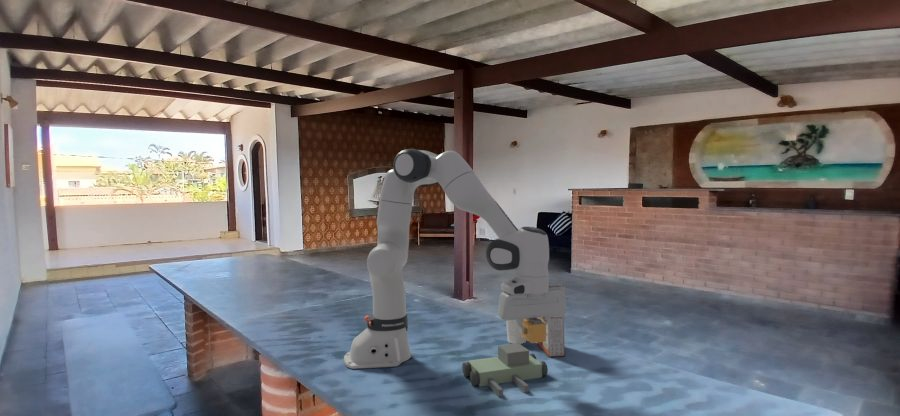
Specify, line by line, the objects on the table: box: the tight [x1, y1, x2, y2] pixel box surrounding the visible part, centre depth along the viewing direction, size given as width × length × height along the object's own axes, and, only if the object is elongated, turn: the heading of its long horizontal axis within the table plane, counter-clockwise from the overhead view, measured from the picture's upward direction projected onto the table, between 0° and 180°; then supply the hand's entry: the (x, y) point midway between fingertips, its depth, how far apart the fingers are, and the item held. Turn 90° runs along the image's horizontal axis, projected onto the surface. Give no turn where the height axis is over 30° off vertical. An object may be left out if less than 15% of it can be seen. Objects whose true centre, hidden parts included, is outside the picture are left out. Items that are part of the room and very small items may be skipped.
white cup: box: [505, 320, 527, 345], centre depth 171 cm, size 8×8×10 cm
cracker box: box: [536, 314, 566, 358], centre depth 161 cm, size 14×6×21 cm, turn 5°
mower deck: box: [461, 343, 549, 398], centre depth 136 cm, size 23×18×8 cm
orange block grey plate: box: [520, 318, 546, 344], centre depth 132 cm, size 4×7×6 cm, turn 18°
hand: (532, 332), depth 132 cm, fingers closed on orange block grey plate, 4 cm apart
